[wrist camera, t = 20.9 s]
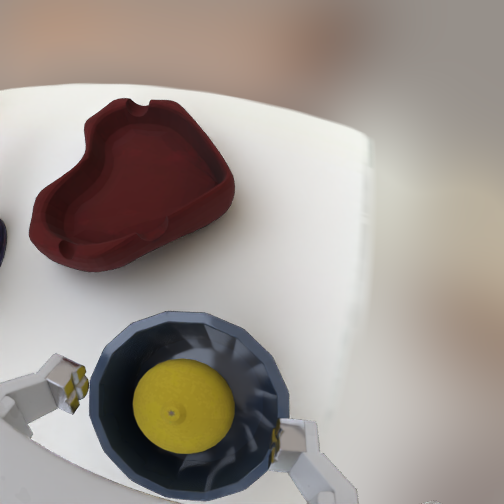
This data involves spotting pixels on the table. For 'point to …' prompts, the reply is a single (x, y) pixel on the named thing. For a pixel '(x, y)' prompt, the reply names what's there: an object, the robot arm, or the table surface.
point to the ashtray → (132, 188)
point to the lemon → (183, 406)
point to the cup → (217, 357)
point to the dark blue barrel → (2, 240)
